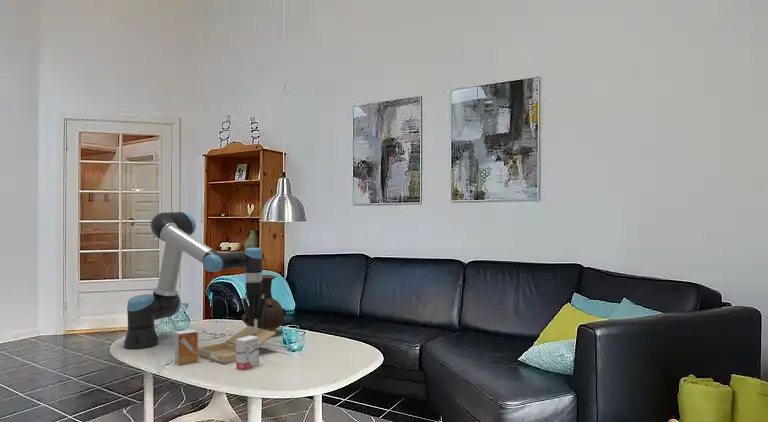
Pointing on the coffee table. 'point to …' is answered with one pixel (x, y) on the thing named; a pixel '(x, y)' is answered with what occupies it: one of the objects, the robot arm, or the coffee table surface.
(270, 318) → the vase
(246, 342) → the ink box
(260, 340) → the lid
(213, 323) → the coffee table surface
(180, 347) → the small box
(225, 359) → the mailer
